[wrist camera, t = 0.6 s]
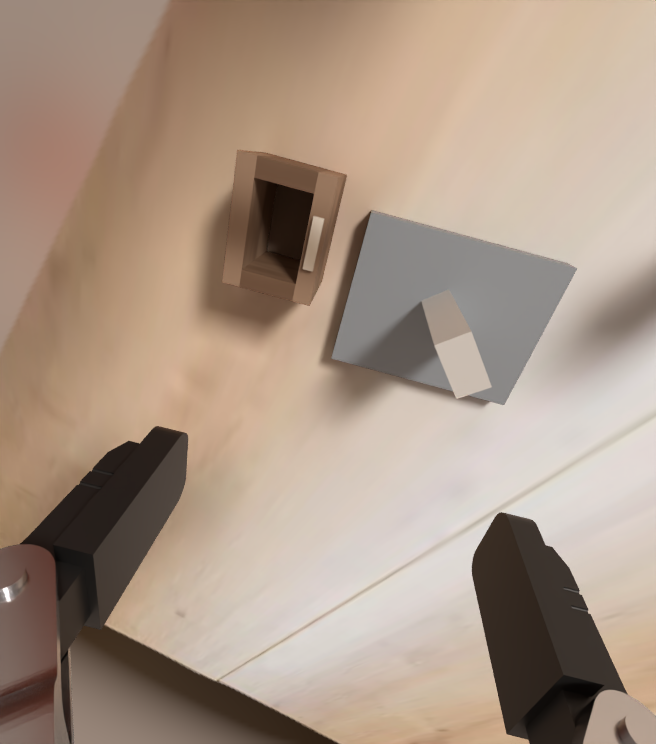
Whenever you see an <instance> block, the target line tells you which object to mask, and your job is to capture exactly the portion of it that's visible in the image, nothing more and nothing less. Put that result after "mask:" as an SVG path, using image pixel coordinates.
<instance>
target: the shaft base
mask: <svg viewBox="0 0 656 744" xmlns="http://www.w3.org/2000/svg"><path fill="white" fill-rule="evenodd" d="M576 270H577V268H575V267H574V266H572V265H570V264H568V263H564V262H560V261H557V260H553V259H549V258H546V257H542V256H538V255H535V254H531V253H527V252H524V251H520V250H516V249H513V248H509V247H505V246H502V245H498V244H494V243H491V242H487V241H483V240H480V239H476V238H472V237H469V236H465V235H461V234H458V233H454V232H450V231H447V230H443V229H439V228H435V227H432V226H428V225H424V224H421V223H417V222H413V221H410V220H406V219H402V218H399V217H395V216H391V215H388V214H384V213H380V212H377V211H373V210H372V211H371V214H370V218H369V222H368V225H367V229H366V233H365V236H364V240H363V244H362V247H361V251H360V255H359V258H358V262H357V266H356V269H355V273H354V277H353V280H352V284H351V288H350V291H349V295H348V299H347V302H346V306H345V310H344V313H343V317H342V321H341V324H340V328H339V332H338V336H337V339H336V343H335V347H334V350H333V354H332V358H331V359H335V360H338V361H342V362H346V363H350V364H353V365H357V366H361V367H364V368H368V369H372V370H376V371H379V372H383V373H387V374H390V375H394V376H398V377H401V378H405V379H409V380H413V381H416V382H420V383H424V384H427V385H431V386H435V387H439V388H442V389H446V390H450V391H453V392H454V395H455V397H456V399H458V398H461V397H464V396H467V395H468V396H472V397H476V398H479V399H483V400H487V401H490V402H494V403H498V404H502V405H504V404H505V402H506V401H507V399H508V397H509V395H510V393H511V391H512V389H513V388H514V386H515V384H516V382H517V380H518V378H519V376H520V374H521V373H522V371H523V369H524V367H525V365H526V363H527V361H528V360H529V358H530V356H531V354H532V352H533V350H534V348H535V346H536V345H537V343H538V341H539V339H540V337H541V335H542V333H543V332H544V330H545V328H546V326H547V324H548V322H549V320H550V318H551V317H552V315H553V313H554V311H555V309H556V307H557V305H558V304H559V302H560V300H561V298H562V296H563V294H564V292H565V290H566V289H567V287H568V285H569V283H570V281H571V279H572V277H573V276H574V274H575V272H576Z"/></svg>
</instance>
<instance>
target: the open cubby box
mask: <svg viewBox="0 0 656 744" xmlns="http://www.w3.org/2000/svg"><path fill="white" fill-rule="evenodd" d="M346 177H347V175H345V174H342V173H338V172H334V171H331V170H327V169H323V168H320V167H316V166H312V165H309V164H305V163H301V162H298V161H294V160H290V159H287V158H283V157H279V156H276V155H272V154H268V153H263V152H253V151H243V150H237V158H236V166H235V175H234V184H233V192H232V201H231V210H230V218H229V227H228V236H227V244H226V253H225V262H224V270H223V279H222V282H223V283H226V284H230V285H234V286H238V287H241V288H245V289H249V290H252V291H256V292H260V293H263V294H267V295H271V296H275V297H278V298H282V299H286V300H289V301H293V302H297V303H300V304H304V305H308V306H310V304H311V302H312V300H313V298H314V296H315V294H316V292H317V290H318V288H319V286H320V284H321V282H322V279H323V275H324V270H325V266H326V262H327V258H328V253H329V249H330V245H331V241H332V236H333V232H334V228H335V224H336V219H337V215H338V211H339V207H340V202H341V198H342V194H343V190H344V185H345V181H346ZM277 184H280V185H284V186H287V187H291V188H295V189H298V190H302V191H306V192H309V193H313V194H314V197H313V202H312V207H311V212H310V217H309V222H308V227H307V232H306V237H305V241H304V246H303V251H302V256H301V260H298V259H294V258H290V257H286V256H283V255H279V254H275V253H272V252H268V251H267V245H268V238H269V232H270V226H271V220H272V214H273V208H274V202H275V195H276V189H277Z"/></svg>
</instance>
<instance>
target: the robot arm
mask: <svg viewBox="0 0 656 744" xmlns="http://www.w3.org/2000/svg"><path fill="white" fill-rule="evenodd" d="M187 450H188V435H187V433H184V432H180V431H176V430H172V429H168V428H164V427H160V426H156V427H154V428H153V429H152V430H151V431H150V433H149V434H148V435H147V436H146V437H145V438H144V439H143V441H142V442H141V443H140V444H139V443H135V442H131V441H128V442H126V443H124V444H122V445H120V446H119V447H117V448H115V449H113V450H111V451H109V452H108V453H107V454H106V455H105V456H104V457H103V458H102V459H101V460H100V461H99V462H98V463H97V464H96V465H95V466H94V468H93V470H92V472H91V471H90V472H89V473H88V474H87V475H86V476H85V477H84V478H83V479H82V480H81V481H80V484H79V485H76V487H75V488H74V489H73V490H72V491H71V492H70V493H69V494H68V495H67V496H66V497H65V498H64V499H63V500H62V501H61V502H60V503H59V504H58V506H57V507H56V508H55V509H54V510H53V511H52V512H51V513H50V514H49V515H48V516H47V517H46V518H45V519H44V520H43V521H42V522H41V524H40V525H39V526H38V527H37V528H36V529H35V530H34V531H33V532H32V533H31V534H30V535H29V536H28V537H27V538H26V539H25V540H24V541H23V542H22V543H20V544H19V545H13V546H8V547H5V548H2V549H0V744H74V729H73V707H72V684H71V660H70V646H71V644H72V643H73V641H74V640H75V638H76V636H77V635H78V633H79V632H80V630H81V629H82V627H83V626H88V627H92V628H96V629H100V630H101V629H102V627H103V626H104V624H105V622H106V621H107V619H108V617H109V616H110V614H111V612H112V611H113V609H114V607H115V606H116V604H117V602H118V601H119V599H120V597H121V596H122V594H123V592H124V591H125V589H126V587H127V586H128V584H129V582H130V581H131V579H132V577H133V576H134V574H135V572H136V571H137V569H138V567H139V566H140V564H141V562H142V561H143V559H144V557H145V556H146V554H147V552H148V551H149V549H150V547H151V546H152V544H153V542H154V541H155V539H156V537H157V536H158V534H159V533H160V531H161V529H162V528H163V526H164V524H165V523H166V521H167V519H168V518H169V516H170V514H171V513H172V511H173V509H174V508H175V506H176V504H177V503H178V501H179V499H180V496H181V494H182V491H183V488H184V485H185V480H186V467H187ZM472 576H473V581H474V586H475V591H476V595H477V600H478V604H479V609H480V614H481V618H482V623H483V627H484V632H485V637H486V641H487V646H488V650H489V655H490V660H491V664H492V669H493V673H494V678H495V683H496V687H497V692H498V696H499V701H500V706H501V710H502V715H503V719H504V724H505V729H506V733H507V734H508V735H512V736H516V737H520V738H524V739H528V740H529V743H530V744H656V716H655V715H654V714H653V713H652V712H651V711H650V710H649V709H648V708H647V707H645V706H644V705H643V704H642V703H640V702H639V701H638V700H636V699H634V698H633V697H631V696H629V695H628V694H627V692H626V690H625V688H624V686H623V684H622V682H621V679H620V677H619V675H618V673H617V671H616V669H615V666H614V664H613V662H612V660H611V658H610V656H609V653H608V651H607V649H606V647H605V645H604V643H603V640H602V638H601V636H600V634H599V632H598V629H597V627H596V625H595V623H594V621H593V619H592V616H591V614H588V608H587V606H586V603H585V601H584V599H583V597H582V595H580V594H579V591H580V590H579V588H578V586H577V584H576V582H575V579H574V577H573V575H572V573H571V571H570V569H569V567H568V566H567V565H566V564H565V562H564V561H563V560H562V559H561V557H560V556H559V555H558V554H557V552H556V551H555V550H554V549H553V547H550V546H546V545H545V543H544V541H543V538H542V536H541V534H540V531H539V529H538V527H537V525H536V523H535V522H534V521H533V520H531V519H527V518H523V517H519V516H515V515H511V514H507V513H502V512H501V513H499V514H497V515H496V517H495V518H494V520H493V522H492V523H491V525H490V527H489V529H488V530H487V532H486V534H485V535H484V537H483V539H482V541H481V542H480V544H479V546H478V547H477V549H476V551H475V553H474V557H473V562H472Z"/></svg>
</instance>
